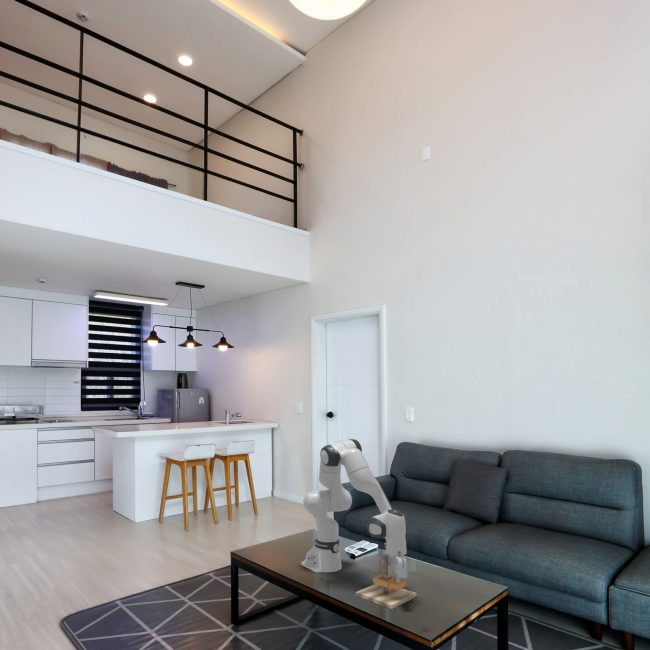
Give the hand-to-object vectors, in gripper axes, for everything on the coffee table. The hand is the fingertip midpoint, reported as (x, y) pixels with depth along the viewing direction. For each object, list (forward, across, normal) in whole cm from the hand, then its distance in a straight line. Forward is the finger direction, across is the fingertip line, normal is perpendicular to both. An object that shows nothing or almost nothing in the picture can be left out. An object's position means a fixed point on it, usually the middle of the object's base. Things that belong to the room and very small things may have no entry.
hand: (397, 581), depth 220 cm
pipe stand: (+8, +5, +4) cm, 10 cm away
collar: (+2, +3, +2) cm, 5 cm away
